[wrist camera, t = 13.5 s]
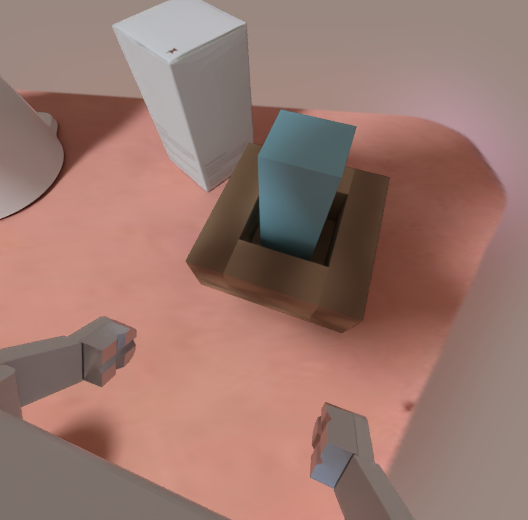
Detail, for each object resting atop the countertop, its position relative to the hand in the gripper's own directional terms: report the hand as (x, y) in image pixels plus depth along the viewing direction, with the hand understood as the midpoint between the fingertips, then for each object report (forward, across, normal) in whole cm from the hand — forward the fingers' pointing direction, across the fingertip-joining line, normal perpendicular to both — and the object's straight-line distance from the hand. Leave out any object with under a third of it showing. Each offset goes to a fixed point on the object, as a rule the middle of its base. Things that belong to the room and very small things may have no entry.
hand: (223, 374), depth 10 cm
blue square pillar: (+15, 0, -2) cm, 16 cm away
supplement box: (+22, +12, -7) cm, 26 cm away
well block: (+16, 0, -1) cm, 16 cm away
